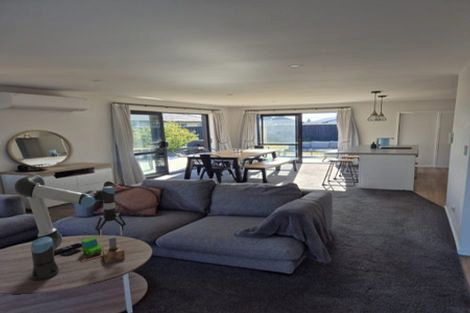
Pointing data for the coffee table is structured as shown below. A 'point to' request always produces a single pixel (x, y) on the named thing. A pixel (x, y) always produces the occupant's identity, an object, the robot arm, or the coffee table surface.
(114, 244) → the dark grey bar
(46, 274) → the robot arm
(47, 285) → the coffee table surface
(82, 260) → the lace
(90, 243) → the toy car
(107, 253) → the wooden square frame
